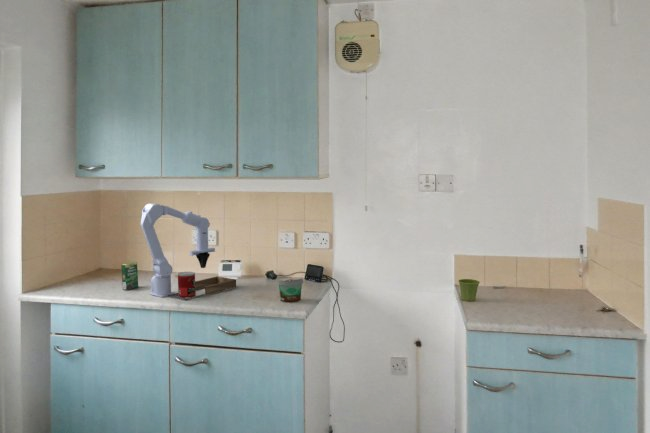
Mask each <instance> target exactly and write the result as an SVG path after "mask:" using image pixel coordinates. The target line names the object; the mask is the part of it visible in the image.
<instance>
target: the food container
mask: <svg viewBox="0 0 650 433" xmlns="http://www.w3.org/2000/svg"><path fill="white" fill-rule="evenodd" d="M303 284H304V279H303V277H300V278H299V279H287V280H280V279H277V285H278V288H279V289H278V290H279V299H280V302H283V303H297V302H300V301H301V297H302V286H303Z"/></svg>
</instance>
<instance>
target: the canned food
mask: <svg viewBox="0 0 650 433" xmlns="http://www.w3.org/2000/svg"><path fill="white" fill-rule="evenodd" d="M195 281H196V273H195V271H180V272H178V273H177V290H178V291H177V293H178V295H177V296H178V297H182V298H191V297H195V296H196V290H195Z"/></svg>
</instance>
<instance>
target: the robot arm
mask: <svg viewBox="0 0 650 433" xmlns="http://www.w3.org/2000/svg"><path fill="white" fill-rule="evenodd" d="M166 215H168V216H171V217H175V218H176V219H177V218H178V219H180V220H181V222H182V223H184V224H186V225H189V226H192V227H195V229H196V230H195V234H196V236H195V238H196V240H195V241H196V249H194V250H190V251H189V256H192V257H193V256H196V258H197V260H198V263H199V265H200V268H201V269H206V267H207V262H208V260H209V258H210V253H214V252H216V247H209V227H210V225H211V223H210V221H209V219H208V218H206V217H202V215H200V214H196V213H193V211H190V210H189V211H185V212H182V211H179V210H178V209H175V208H173V207H170V206H167V205H164V204H162V205H161V204H159V203H158V204H157V203H152V202H151V203H150V202H149V203H147V204H145V206H144V207H143V208H142V210H141V218H140V227H141V230H142V232H143V235H144V238H145V241H146V243H147V246H148V249H149V252H150V254H151V257H152V261H151V262H152V271H153V273H155V274H154V275H153V277H151V280H150V293H149V295H151V296H155V297H159V298H164V297H168V295H172V294H176V292H175V291H172V279H171V278H172V276H171V275H172V274H173V266H172V265H171V264H170V263H169V262H168V261H169V260H168V259H167V258H166V256H165V254H164V251H163V249H162V246H161V244H160V240H159V238H158V236H157V233H156V229H155V226H154V225H155V223H156V221H157V220H159V219H160V218H161V217H162V216H166Z"/></svg>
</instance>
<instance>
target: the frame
mask: <svg viewBox="0 0 650 433" xmlns="http://www.w3.org/2000/svg"><path fill="white" fill-rule="evenodd" d="M205 296H207V295H206V294H205V293H202V294H199V295H195V296H194V297H190V298H182V297H179V295H178V292H175V294H172V295H168V296H167V297H169V298H173V299H177V300H180V301H185V302H186V301H190V300H194V299H197V298H202V297H205Z"/></svg>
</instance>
